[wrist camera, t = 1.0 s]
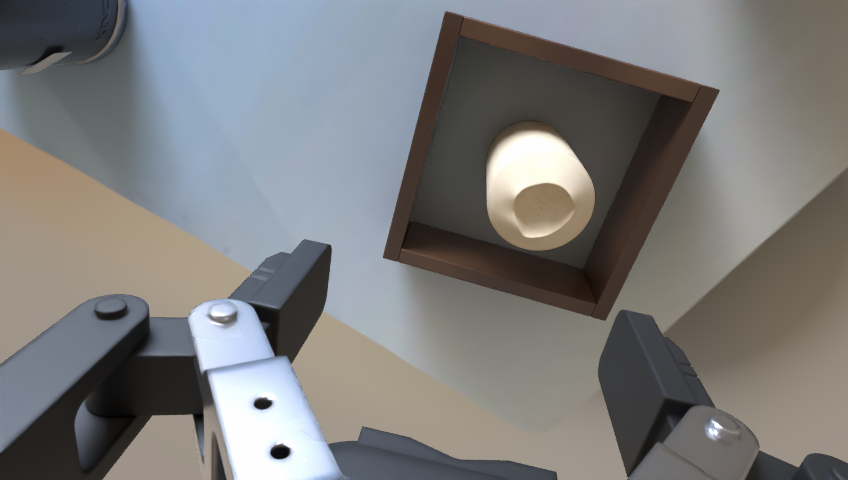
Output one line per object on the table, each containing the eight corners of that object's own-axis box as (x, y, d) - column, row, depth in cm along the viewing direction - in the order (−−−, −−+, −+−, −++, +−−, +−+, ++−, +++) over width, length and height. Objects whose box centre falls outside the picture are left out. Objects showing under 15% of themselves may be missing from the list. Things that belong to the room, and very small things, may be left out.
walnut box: (394, 228, 37) (382, 257, 32) (450, 12, 31) (445, 10, 26) (590, 284, 37) (605, 321, 33) (685, 79, 31) (720, 90, 26)
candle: (530, 214, 35) (546, 282, 26) (469, 166, 35) (464, 219, 25) (586, 154, 33) (625, 205, 24) (523, 102, 32) (539, 134, 23)
